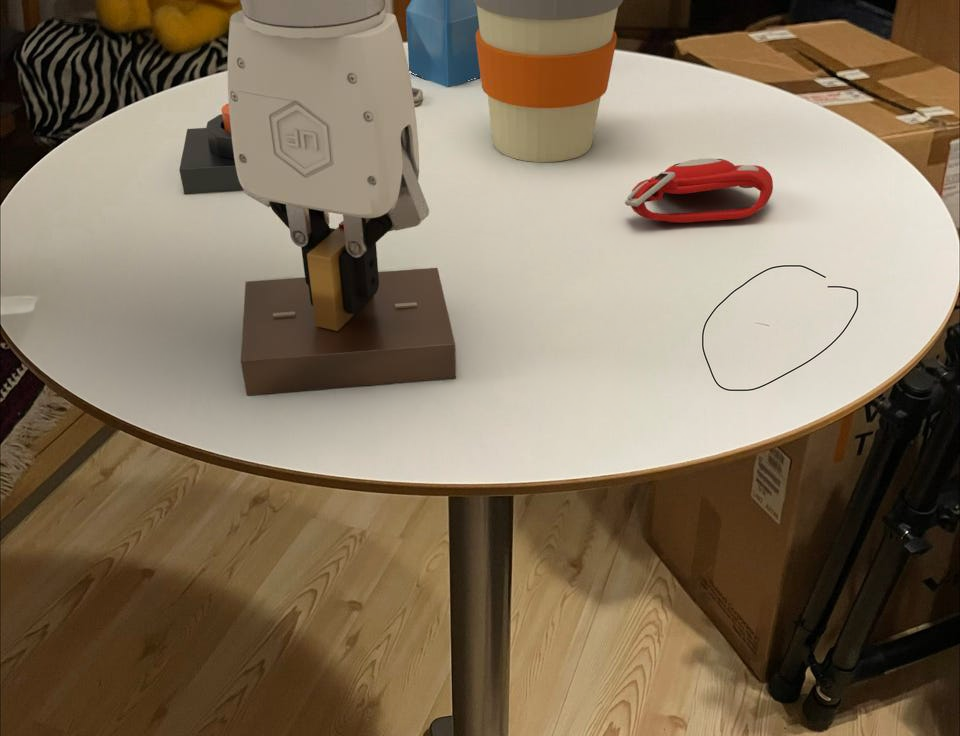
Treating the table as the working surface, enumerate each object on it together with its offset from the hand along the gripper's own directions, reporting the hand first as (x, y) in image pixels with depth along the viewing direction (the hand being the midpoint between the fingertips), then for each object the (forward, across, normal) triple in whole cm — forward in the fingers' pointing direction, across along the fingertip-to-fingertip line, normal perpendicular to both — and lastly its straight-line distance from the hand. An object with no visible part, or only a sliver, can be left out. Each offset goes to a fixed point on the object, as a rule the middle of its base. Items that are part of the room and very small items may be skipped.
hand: (343, 298), depth 66 cm
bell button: (0, -21, +22) cm, 31 cm away
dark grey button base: (+3, -21, +22) cm, 31 cm away
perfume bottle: (+4, -15, +52) cm, 54 cm away
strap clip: (+4, -18, +41) cm, 45 cm away
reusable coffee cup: (+4, 0, +37) cm, 37 cm away
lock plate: (+3, 0, 0) cm, 3 cm away
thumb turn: (+1, 0, 0) cm, 1 cm away
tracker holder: (+4, +16, +29) cm, 33 cm away
